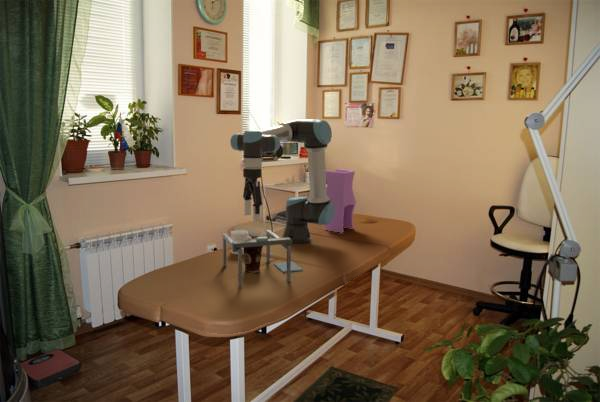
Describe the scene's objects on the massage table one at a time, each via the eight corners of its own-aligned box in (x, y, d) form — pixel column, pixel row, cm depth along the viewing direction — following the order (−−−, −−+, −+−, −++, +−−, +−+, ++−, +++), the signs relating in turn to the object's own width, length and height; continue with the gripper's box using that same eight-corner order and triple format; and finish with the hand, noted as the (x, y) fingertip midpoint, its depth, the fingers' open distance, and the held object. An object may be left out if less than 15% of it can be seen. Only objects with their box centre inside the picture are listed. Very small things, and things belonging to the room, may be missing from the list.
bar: (231, 250, 189) (231, 238, 189) (289, 245, 198) (289, 234, 197) (233, 252, 187) (233, 240, 186) (291, 247, 195) (292, 236, 195)
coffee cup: (246, 274, 202) (246, 244, 200) (239, 269, 209) (239, 240, 207) (265, 272, 206) (265, 242, 204) (257, 266, 213) (258, 238, 211)
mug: (257, 252, 235) (258, 232, 233) (248, 257, 227) (248, 235, 225) (237, 249, 240) (237, 229, 238) (227, 253, 233) (227, 232, 231)
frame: (222, 266, 213) (222, 233, 210) (269, 261, 220) (269, 229, 218) (238, 287, 187) (238, 250, 184) (290, 281, 195) (291, 245, 192)
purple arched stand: (334, 226, 295) (336, 169, 288) (354, 229, 287) (356, 170, 280) (322, 230, 283) (323, 170, 277) (342, 233, 276) (344, 172, 269)
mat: (273, 264, 217) (273, 263, 216) (292, 262, 220) (292, 261, 220) (282, 272, 206) (282, 271, 205) (302, 270, 209) (302, 269, 209)
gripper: (236, 165, 210) (236, 213, 214) (251, 171, 187) (251, 224, 191) (252, 165, 213) (252, 212, 216) (270, 171, 190) (269, 223, 194)
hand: (252, 218), depth 204 cm, fingers open, 13 cm apart
